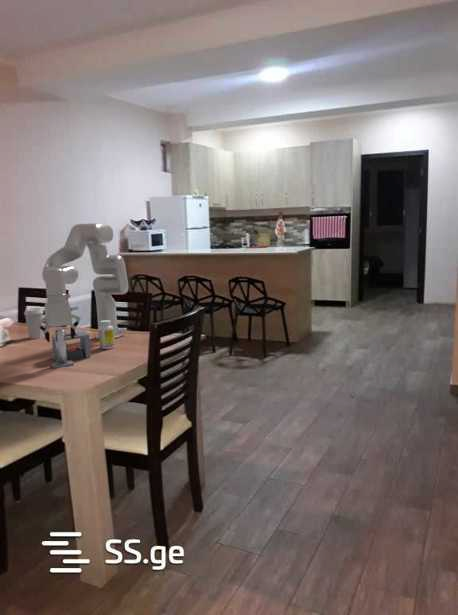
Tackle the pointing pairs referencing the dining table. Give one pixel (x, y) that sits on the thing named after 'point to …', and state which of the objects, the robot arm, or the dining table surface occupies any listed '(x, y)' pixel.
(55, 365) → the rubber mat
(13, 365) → the dining table surface
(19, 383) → the dining table surface
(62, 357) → the silver metal cylinder
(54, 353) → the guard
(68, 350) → the button
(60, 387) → the dining table surface
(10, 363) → the dining table surface
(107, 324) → the supplement bottle
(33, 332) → the coffee cup
